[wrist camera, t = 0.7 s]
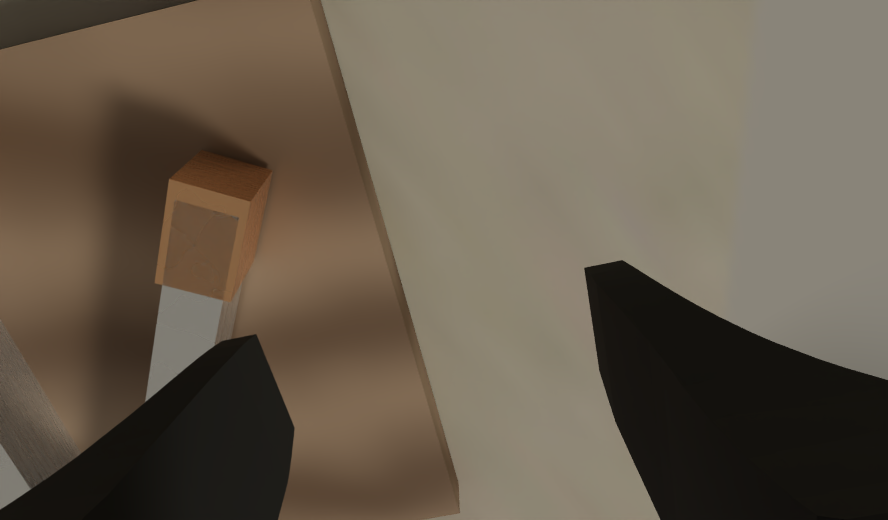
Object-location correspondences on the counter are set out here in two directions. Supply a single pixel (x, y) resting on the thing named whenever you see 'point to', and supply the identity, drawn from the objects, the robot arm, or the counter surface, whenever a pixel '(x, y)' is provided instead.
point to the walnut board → (277, 254)
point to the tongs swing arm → (204, 258)
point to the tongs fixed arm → (27, 427)
